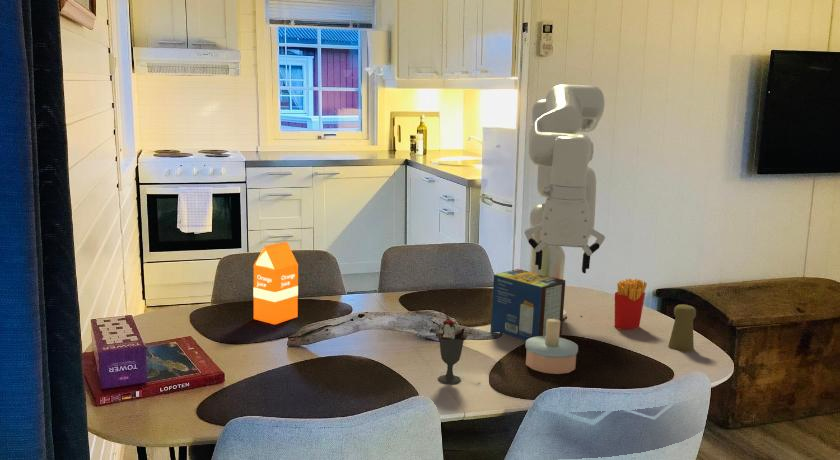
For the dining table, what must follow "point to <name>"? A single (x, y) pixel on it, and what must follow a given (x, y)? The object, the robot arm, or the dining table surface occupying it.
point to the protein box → (526, 303)
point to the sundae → (450, 348)
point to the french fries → (629, 303)
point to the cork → (683, 329)
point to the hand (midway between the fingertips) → (561, 270)
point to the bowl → (550, 363)
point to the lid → (552, 343)
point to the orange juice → (275, 284)
